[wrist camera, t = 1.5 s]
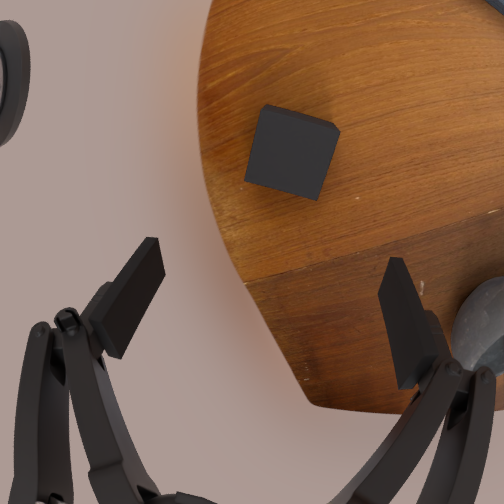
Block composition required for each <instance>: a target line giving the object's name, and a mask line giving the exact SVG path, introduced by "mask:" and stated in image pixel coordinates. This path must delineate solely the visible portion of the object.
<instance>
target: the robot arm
mask: <svg viewBox="0 0 504 504" xmlns="http://www.w3.org/2000/svg"><path fill="white" fill-rule="evenodd" d="M6 91H7V63H6V58H5V55H4V52H3V50H2V48H1V47H0V115H1V112H2V109H3V106H4V102H5V97H6ZM165 275H166V274H165V270H164V265H163V260H162V256H161V251H160V246H159V241H158V238H154V237H146V238H145V239H144V241H143V242H142V243H141V245H140V246H139V247H138V249H137V250H136V251H135V253H134V254H133V255H132V256H131V258H130V259H129V260H128V262H127V263H126V265H125V266H124V267H123V269H122V270H121V271H120V273H119V274H118V275H117V277H116V278H115V280H114V281H113V282H106V283H105V284H104V285H102V286H101V287H100V288H99V289H98V291H97V292H96V294H95V295H94V296H93V298H92V299H91V301H90V302H89V303H88V305H87V307H86V308H85V310H84V311H83V312H82V314H81V315H80V316H79V314H78V312H77V310H76V309H74V308H71V307H68V308H64V309H63V310H60V311H59V312H58V313H57V315H56V316H55V318H54V323H55V324H56V326H57V328H53V329H51V327H50V325H49V324H48V323H47V322H39V323H37V324H35V325H34V326H33V327H32V329H31V331H30V334H29V338H28V342H27V347H26V351H25V356H24V361H23V366H22V372H21V378H20V384H19V391H18V398H17V407H16V417H15V431H14V478H13V482H12V487H11V491H10V496H9V501H8V504H73V500H74V497H73V496H74V492H73V481H72V472H71V461H70V444H69V390H70V395H71V400H72V404H73V409H74V412H75V417H76V421H77V425H78V428H79V432H80V436H81V438H82V442H83V445H84V449H85V452H86V455H87V458H88V461H89V464H90V471H89V472H88V477H89V480H90V484H91V486H92V489H93V491H94V493H95V496H96V498H97V501H98V503H99V504H217V503H214V502H212V501H210V500H207V499H205V498H202V497H198V496H194V495H190V494H185V493H181V492H177V493H176V494H166V495H161V494H160V492H159V490H158V488H157V487H156V485H155V483H154V482H153V480H152V479H151V478H150V477H149V475H148V474H147V472H146V470H145V468H144V466H143V464H142V462H141V460H140V458H139V456H138V453H137V451H136V449H135V447H134V444H133V442H132V440H131V437H130V435H129V432H128V430H127V427H126V425H125V422H124V420H123V417H122V414H121V411H120V409H119V406H118V403H117V400H116V397H115V395H114V391H113V388H112V385H111V382H110V379H109V375H108V372H107V369H106V365H105V362H104V358H103V356H102V355H101V354H102V353H103V350H104V349H105V351H106V353H107V354H108V356H110V357H114V358H118V359H122V357H123V355H124V353H125V350H126V349H127V346H128V345H129V343H130V341H131V339H132V337H133V335H134V333H135V331H136V329H137V327H138V325H139V323H140V321H141V319H142V317H143V316H144V314H145V312H146V310H147V308H148V306H149V304H150V303H151V301H152V299H153V297H154V295H155V293H156V292H157V290H158V288H159V286H160V284H161V283H162V281H163V279H164V277H165ZM378 297H379V301H380V305H381V309H382V313H383V317H384V321H385V325H386V329H387V334H388V338H389V343H390V347H391V352H392V357H393V362H394V367H395V373H396V378H397V384H398V390H401V389H412V388H413V387H414V386H415V385H416V384H417V382H418V385H419V390H418V391H417V392H416V393H415V394H414V395H413V397H412V398H411V399H410V400H411V402H410V403H409V405H408V407H407V408H406V410H405V411H404V413H403V414H402V416H401V417H400V419H399V420H398V422H397V423H396V424H395V426H394V427H393V429H392V430H391V432H390V433H389V434H388V436H387V437H386V438H385V440H384V441H383V442H382V444H381V445H380V446H379V448H378V449H377V450H376V452H375V453H374V454H373V455H372V456H371V458H370V459H369V460H368V461H367V462H366V464H365V465H364V466H363V467H362V468H361V470H360V471H359V472H358V473H357V474H356V475H355V476H354V477H353V479H352V480H351V481H350V482H349V483H348V484H347V485H346V486H345V487H344V488H343V489H342V490H341V491H340V493H339V494H338V495H337V496H336V497H335V498H334V499H332V501H330V502H329V503H328V504H389V503H390V501H391V500H392V499H393V497H394V496H395V495H396V494H397V492H398V491H399V489H400V488H401V487H402V486H403V484H404V483H405V481H406V480H407V479H408V477H409V476H410V474H411V473H412V471H413V470H414V468H415V467H416V465H417V464H418V462H419V461H420V459H421V457H422V456H423V454H424V453H425V451H426V449H427V447H428V446H429V444H430V442H431V441H432V439H433V437H434V435H435V434H436V432H437V430H438V428H439V426H440V424H441V422H442V421H443V419H444V417H445V415H446V417H445V421H444V425H443V429H442V433H441V436H440V440H439V443H438V447H437V450H436V453H435V456H434V459H433V462H432V465H431V468H430V471H429V474H428V476H427V479H426V482H425V484H424V487H423V489H422V492H421V494H420V497H419V499H418V501H417V503H416V504H474V502H475V499H476V496H477V493H478V489H479V486H480V482H481V478H482V475H483V471H484V467H485V462H486V458H487V453H488V448H489V443H490V437H491V431H492V424H493V416H494V406H495V394H496V376H495V374H494V372H493V371H492V369H490V368H489V367H487V366H482V367H480V368H479V369H478V370H477V371H476V372H474V371H470V370H466V369H463V367H462V365H461V364H460V362H459V361H458V360H456V359H454V358H452V356H451V353H450V350H449V347H448V345H447V342H446V339H445V336H444V334H443V331H442V328H441V325H440V323H439V320H438V318H437V317H436V315H435V314H434V313H433V312H432V311H430V310H424V309H423V306H422V304H421V301H420V298H419V296H418V293H417V291H416V289H415V286H414V284H413V281H412V279H411V277H410V274H409V272H408V270H407V267H406V265H405V263H404V261H403V258H397V257H390V259H389V262H388V266H387V269H386V272H385V274H384V277H383V280H382V283H381V286H380V289H379V291H378Z"/></svg>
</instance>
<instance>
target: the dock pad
mask: <svg viewBox="0 0 504 504" xmlns="http://www.w3.org/2000/svg"><path fill="white" fill-rule="evenodd" d="M486 1H487V2H488V3H489V4H491V5H492V6H493V7H494V8H496V9H497V10H498V11H499V12H500V13H502V14H503V15H504V0H486Z"/></svg>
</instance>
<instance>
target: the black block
mask: <svg viewBox="0 0 504 504" xmlns="http://www.w3.org/2000/svg"><path fill="white" fill-rule="evenodd" d="M339 135H340V131H339V129H338V128H337V127H336V126H335V125H334V124H333V123H331V122H328V121H325V120H322V119H318V118H315V117H312V116H308V115H305V114H302V113H298V112H295V111H291V110H287V109H283V108H279V107H276V106H272V105H265V106H264V107H263V108H262V109H261V111H260V116H259V120H258V124H257V128H256V132H255V136H254V140H253V145H252V149H251V153H250V157H249V162H248V166H247V170H246V175H245V179H244V181H246V182H250V183H254V184H258V185H261V186H265V187H269V188H273V189H276V190H280V191H284V192H287V193H291V194H295V195H298V196H302V197H305V198H308V199H312V200H315V201H317V199H318V196H319V194H320V191H321V188H322V185H323V182H324V179H325V177H326V174H327V171H328V168H329V165H330V162H331V159H332V156H333V153H334V150H335V147H336V144H337V141H338V138H339Z"/></svg>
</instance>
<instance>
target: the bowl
mask: <svg viewBox="0 0 504 504" xmlns="http://www.w3.org/2000/svg"><path fill="white" fill-rule="evenodd" d="M451 349H452V354H453V357H454V359H456V360H458V361H459V362H460V364H461V365H462V367H463V369H466V370H470V371H474V372H476V371H477V370H478V369H479V368H480V367H482V366H487V367H489V368H490V369H492V371H493V372H494V374H495V376H496V377H497V376H500V375H501V374H503V373H504V276H501V277H495V278H492V279H489V280H487V281H485V282H483V283H482V284H480V285H479V286H478V287H477V288H476V289H475V290H474V291H473V292H472V293H471V294H470V295H469V296H468V297H467V299H466V300H465V301H464V303H463V304H462V306H461V307H460V309H459V311H458V313H457V315H456V318H455V320H454V323H453V327H452V332H451Z"/></svg>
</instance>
